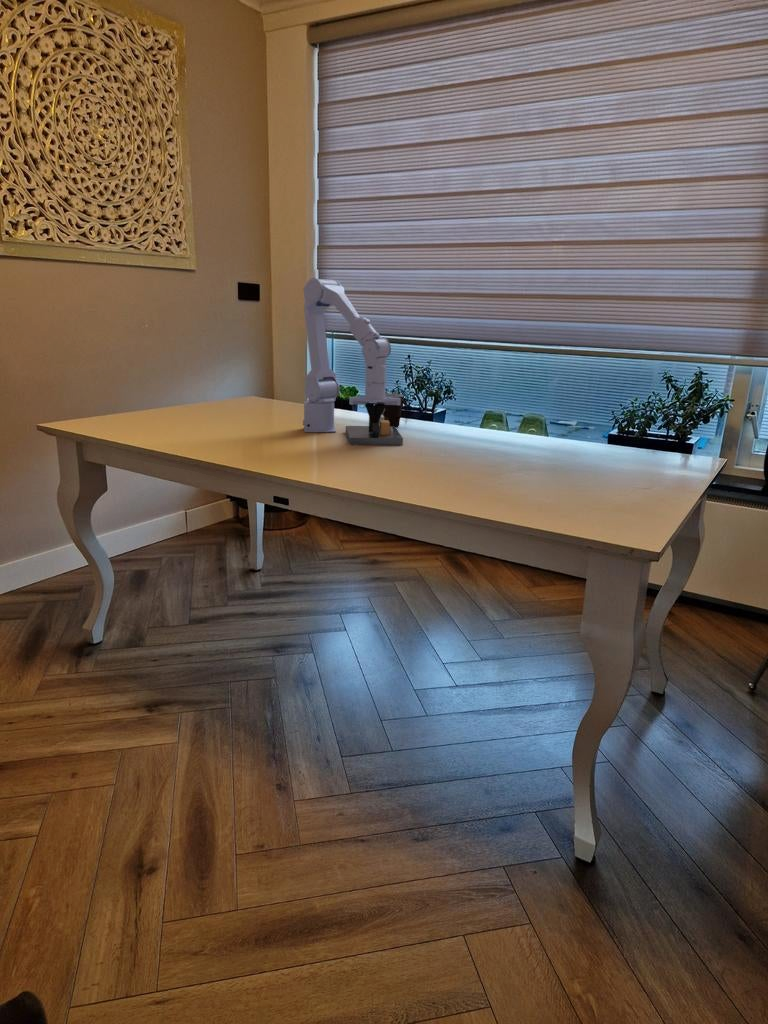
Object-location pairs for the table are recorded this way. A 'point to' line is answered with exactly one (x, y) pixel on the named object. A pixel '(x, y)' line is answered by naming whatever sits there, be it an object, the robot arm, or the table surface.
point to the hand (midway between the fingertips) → (374, 429)
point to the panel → (372, 435)
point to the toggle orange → (384, 427)
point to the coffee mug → (394, 410)
